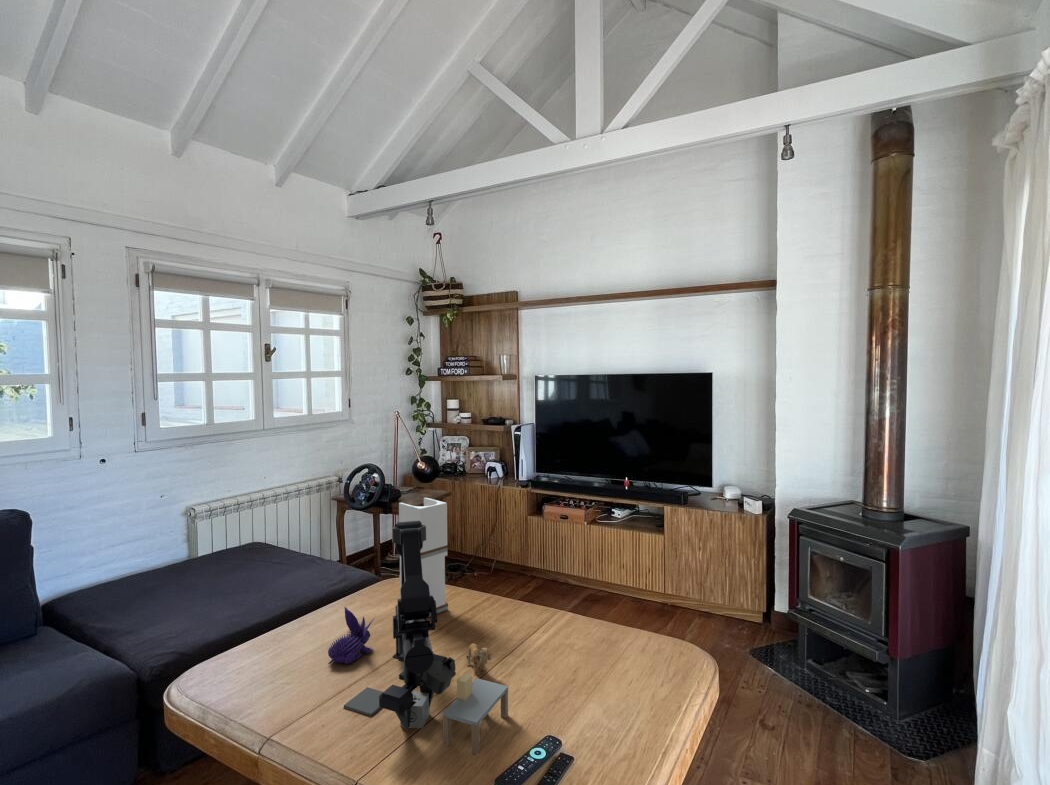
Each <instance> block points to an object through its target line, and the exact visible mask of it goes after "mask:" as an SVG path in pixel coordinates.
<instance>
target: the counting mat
mask: <svg viewBox="0 0 1050 785" xmlns="http://www.w3.org/2000/svg"><path fill="white" fill-rule="evenodd" d="M383 692H384V691H382V690H379V689H375V688H371V687H368V686H367V687H365V688H364V689H362V691H360V692H359V693H357V694H356V695H355V696H354V697H352V698H351V699H350V700H348V701H347V702H346V703H345V704H343V708H344V709H346V710H350V711H353V712H356V713H359V714H362V715H366V716H368V717H373V716H374V715H375V714H376V713H377V712H379V710H381V709H382V708H381V707H379V696H380V695H381V694H382V693H383Z"/></svg>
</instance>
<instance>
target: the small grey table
mask: <svg viewBox="0 0 1050 785" xmlns="http://www.w3.org/2000/svg"><path fill="white" fill-rule="evenodd" d="M499 701H500V717H501V719H507V717H509V687H508V686H507V685H504V684H500V683H497V682H493V681H489V680H484V679H481V678H477V677H476V678H475V679H474V680H473V674H469V673H467V672H466V673H465V672H464V673H462V674H461V676H459V677H458V678H457V679H456V699H454V700H453V702H451V704H450V705H448V707H447V708H446V709H445V710H443V712H442V742H443V743H442V744H443V745H444V746H446V747H449V745H451V743H452V720H455V721H458V722H460V723H464V724H467V725H470V726H471V754H472V755H473V754H474V755H476V756H477V755H478V754H479V753H480V751H481V741H480V740H481V739H480V736H481V734H480V733H481V732H480V731H481V729H480V728H481V727H480V724H481V722H482V721H483V720H484V718H486V716H487V715H488V714H489V713H490V712H491V711H492V709H493V708H494V707H495V705H497V703H499Z"/></svg>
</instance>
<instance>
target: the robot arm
mask: <svg viewBox="0 0 1050 785" xmlns="http://www.w3.org/2000/svg"><path fill="white" fill-rule="evenodd" d="M391 536H392V537H391V538H392V540H391V541H392V544H394V547H395V548H394V549H395V551H396V552H397V554H398V555H399V557H400V556H401V589H400V588H399V598H397V599H396V600H397V603H396V605H395V608H394V609H395V613H394V614H395V615H392V639H393V640H395V649H396V650H395V654H393V655H392V658H393V659H396V660H398V662H401V663H402V672H400V673H399V674H398V679H399V680H400V681H403V683H404V684H403V685H402V686H399V685H396V684H392V685H390V686H389V687H388V688H387V689H386V690H384V691H382V692H383V693H382V694H381V695H380V696H379V707H381V709H384V710H388V711H391V712H394V713H395V714H396V716H397V718H398V719H399V722H401V723H402V725H403V727H402V728H403V729H404V730H409V729H410V728H411V727H410V718H411V707H412V706H413V705H414V704H415V703H416V702H415V701H413V694H412V692H415V691H416V690H417V689H418V688H419V692H420V693H429V708H430V707H431V704H432V701H433V697H434V694H436V695H442V693H444V692H445V691H446V690H447V689H448V688H449V687H450V685H451V682H452V679H453V677H455V676H456V675H457V672H456V661H455V659H454V658H452V657H451V656H448V657H447V656H445V655H440V654H436V653H434V650H433V647H432V642H431V639H430V631H434V630H436V623H438V613H437V611H436V601H435V600H434V597H433V595H431V596H430V591H429V585H428V584H427V583H426V582H425V581H424V580H423V575H422V563H421V552H420V550H421V549H422V548H423V541H425V540H426V525H422V523H421V522H420V521H408V522H399V521H398V522H396V523H395V524H394V526H392V527H391ZM430 613H431V616H430ZM429 616H430V619H431V620H428V619H429Z"/></svg>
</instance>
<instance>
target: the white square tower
mask: <svg viewBox="0 0 1050 785" xmlns="http://www.w3.org/2000/svg"><path fill="white" fill-rule="evenodd" d="M408 521H420V522H421V523H422V525H426V540H425V541H423V548H422V549H421V550H420V552H421V563H422V575H423V580H424V581H425V582H426V583H427V584H428V585H429V591H430V596H431V595H433V597H434V600H435V601H436V611H437V614H440V613H442V612H446V611H448V610H449V602H448V601H447V602H446V558H445V557H448V503H447V502H444V501H440V500H437V499H434V498H428V497H423V506H419V505H418V506H417V505H411V504H407V503H405V502H399V503H398V522H408ZM400 589H401V556H400V555H399V590H400ZM429 617H430V618H431V613H430V616H429ZM429 617H428V618H429Z"/></svg>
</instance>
